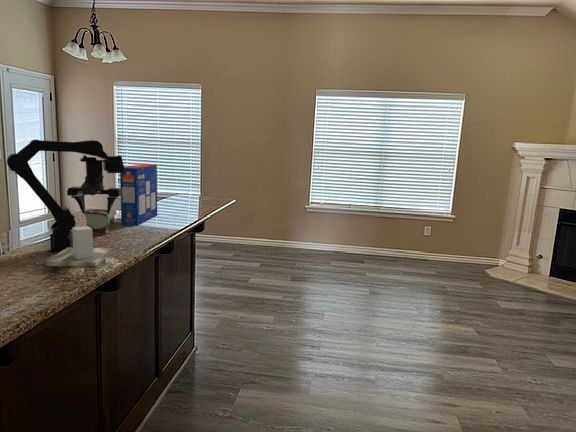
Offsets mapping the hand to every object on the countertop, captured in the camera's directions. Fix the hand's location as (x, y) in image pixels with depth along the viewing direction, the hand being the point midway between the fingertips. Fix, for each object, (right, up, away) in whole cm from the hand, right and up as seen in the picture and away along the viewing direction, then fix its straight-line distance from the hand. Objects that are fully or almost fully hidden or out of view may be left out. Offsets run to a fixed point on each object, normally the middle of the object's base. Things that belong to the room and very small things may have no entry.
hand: (96, 213), depth 162 cm
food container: (-9, -8, +25) cm, 28 cm away
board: (+1, -16, -14) cm, 21 cm away
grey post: (+3, -15, -17) cm, 23 cm away
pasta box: (-2, -3, +56) cm, 56 cm away
